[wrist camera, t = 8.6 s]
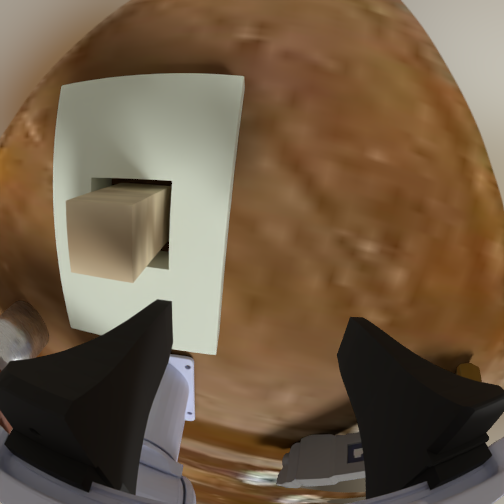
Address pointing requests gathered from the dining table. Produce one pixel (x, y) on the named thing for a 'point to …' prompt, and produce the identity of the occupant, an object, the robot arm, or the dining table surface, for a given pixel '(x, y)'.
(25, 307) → the round peg
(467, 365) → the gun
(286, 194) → the dining table surface
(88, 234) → the square peg
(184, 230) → the socket plate
